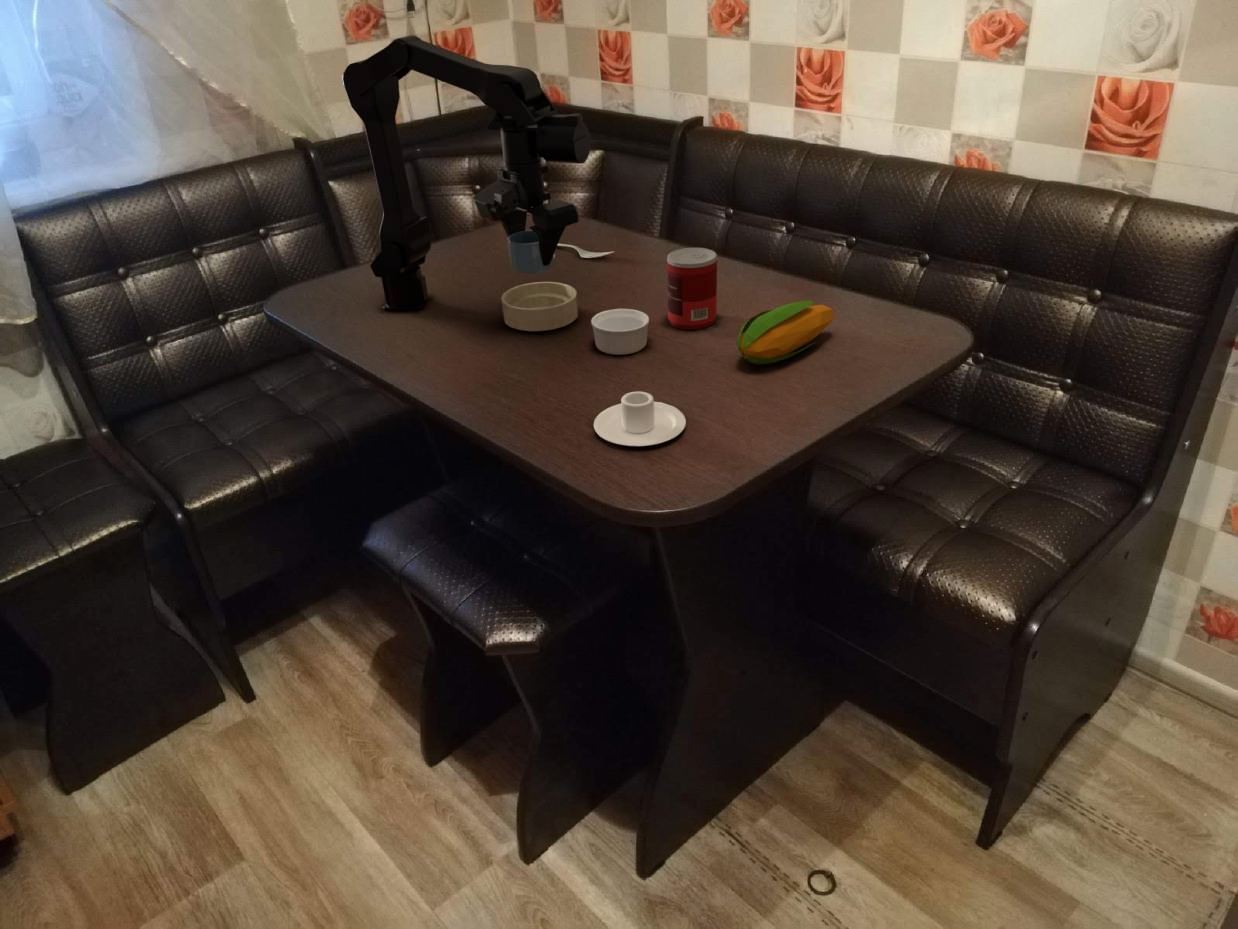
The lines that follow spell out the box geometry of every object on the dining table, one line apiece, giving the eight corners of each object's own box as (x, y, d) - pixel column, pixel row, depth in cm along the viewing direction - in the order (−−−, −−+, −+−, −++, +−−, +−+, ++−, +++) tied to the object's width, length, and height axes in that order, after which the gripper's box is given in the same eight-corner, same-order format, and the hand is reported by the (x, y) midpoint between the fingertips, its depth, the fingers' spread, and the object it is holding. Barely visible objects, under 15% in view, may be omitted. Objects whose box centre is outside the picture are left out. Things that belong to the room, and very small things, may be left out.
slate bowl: (507, 275, 145) (504, 244, 143) (514, 260, 151) (511, 230, 149) (552, 274, 145) (549, 243, 142) (557, 259, 151) (555, 229, 148)
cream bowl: (498, 334, 149) (495, 310, 146) (510, 305, 159) (508, 282, 157) (574, 333, 148) (572, 308, 145) (581, 304, 158) (580, 280, 156)
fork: (530, 237, 191) (529, 228, 190) (616, 259, 177) (616, 250, 176) (518, 241, 189) (517, 232, 188) (605, 264, 175) (604, 255, 174)
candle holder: (675, 401, 126) (674, 372, 124) (695, 444, 116) (695, 414, 114) (588, 411, 125) (586, 382, 123) (601, 456, 115) (599, 425, 112)
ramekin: (621, 328, 148) (620, 303, 146) (661, 343, 143) (661, 317, 140) (580, 346, 143) (579, 320, 141) (621, 362, 138) (619, 335, 135)
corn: (724, 315, 131) (814, 278, 142) (721, 362, 135) (808, 323, 146) (763, 333, 127) (853, 293, 137) (758, 381, 131) (846, 339, 142)
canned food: (724, 316, 151) (725, 250, 145) (701, 334, 145) (701, 266, 139) (683, 308, 154) (682, 244, 149) (659, 325, 149) (657, 259, 143)
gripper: (444, 160, 141) (458, 259, 149) (515, 181, 129) (526, 287, 137) (503, 147, 147) (514, 242, 155) (577, 165, 135) (584, 268, 143)
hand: (532, 259), depth 147 cm, fingers closed on slate bowl, 7 cm apart
